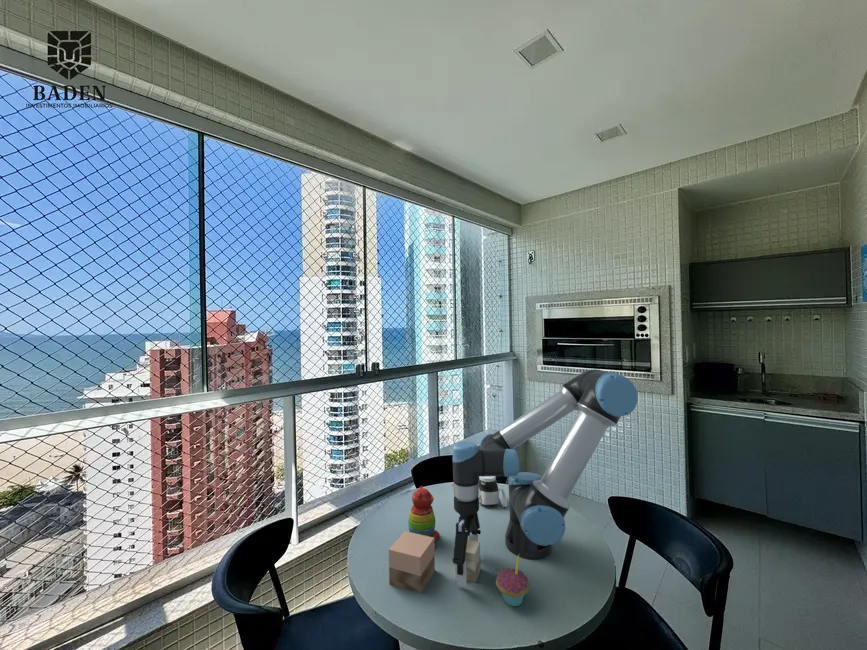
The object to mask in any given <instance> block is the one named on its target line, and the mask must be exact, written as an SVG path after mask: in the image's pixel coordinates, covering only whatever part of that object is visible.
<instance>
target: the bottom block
mask: <svg viewBox="0 0 867 650" xmlns="http://www.w3.org/2000/svg"><path fill="white" fill-rule="evenodd" d="M435 555H436V554H435ZM435 555H434V556H433V558H432V560H431V561H430V563H429V564H428V566H427V567H426V569H425V570H424V572H423V573H422V575H421V576H418V575H415V574H411V573H408V572H404V571H400V570H397V569H393V568H389V567H388V579H389V584H388V585H389V586H393V587H397V588H401V589H404V590H408V591H410V592H414V593H418V594H422V593H423V592H424V589H425V588H426V587H427V584H428V583H429V581H430V580H431V578H432V577H433V575H434V573H435V571H436V563H435V562H436V557H435Z"/></svg>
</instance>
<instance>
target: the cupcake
mask: <svg viewBox="0 0 867 650" xmlns="http://www.w3.org/2000/svg"><path fill="white" fill-rule="evenodd" d="M515 562H516V564H515V567H510V568H509V567H508V568H503V569H502V570H499V572H498V574H497V575H496V579H495V586H496V587H497V589H498V590H499V591H500V593H501V595H502V596H503V600H504V603H506V604H507V605H508V606H511V607H518V606H520V605H522V603H523V599H524V597H525V595H526V594H528V592H529V589H530V588H529V587H530V583H529V579H528V576H527V575H526V574H525V573H524V572H522V571H521V570H519V565H520V556H519V554H518V555H516V561H515Z"/></svg>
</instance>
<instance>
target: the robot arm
mask: <svg viewBox="0 0 867 650" xmlns="http://www.w3.org/2000/svg"><path fill="white" fill-rule="evenodd" d="M638 395H639V394H638V391H637V388H636V386H635V384H634V383H633V382H632V381H631V380H630V379H629V378H628V377H626V376H624V375H621V374H619V373H617V372H613V371H611V372H610V371H606V370H602V369H590V370H586V371H583V372H582V373H579V374H577V376H574V377H573V378H571V379H570V380H569V381H567V382H566V383H564V384H563V385H561V386H560V388H559V391H558V392H555V393H554V394H553V395H551V396H549V397H548V398H547V399H546V400H544V401H542V402H540V403H539V404H538V405H536V406H534V407H533V408H532V409H530V410H528V411H527V412H526V413H525V412H524V414H522V415H521V416H519V417H517V418H516V419H515V420H512V421H511V422H509V424H507V425H505V426H503V427H502V428H501V429H500V430H497V431H496V432H494V433H487V434H485V435H484V436H482V438H481V439H480V442H479V447H478V445H477V444H476V443H475V442H472V441H458V442H456V443H455V444H454V445H453V446H452V447H453V448H452V474H453V475H452V477H453V478H452V479H453V482H452V484H451V486H452V487H453V509H454V511H455V512H456V513H457V514H458V515H459V516H458V522H456V523H455V539H454V549H453V557H452V563H453V564H454V565H455V564H456V571H455V578H456V585H458V586H462V587H467V585H468V584H467V583H468V582H467V581H468V580H467V576H466V561H465V555H466V548H467V540H472V541H477V542H479V535H481V534H482V531H481V529H480V528H481V526H480V520H479V516H478V515H479V513H478V512H479V510H480V503H479V497H478V496H479V483H478V480H479V476H482V477H484V476H496V477H504V478H505V477H508V482H507V485H508V498H509V500H508V502H509V503H508V504H509V521H508V524H507V526H506V531H505V534H504V535H505V536H504V539H505V540H504V543H505V546H506V547H507V548H506V549H508V550H509V552H511V553H512V554H513V555H516V556H518V554H519V557H521V558H524V559H531V560H537V559H538V560H539V559H543V558H546V557H547V556H549V555H550V554H552V551H553V545H555V544H557V543H558V542H559V541H561V539H562V538H563V537H564V535H565V532H566V522H565V516H566V514H567V513H568V511H569V509H570V503H569V497H570V494H571V493H572V491H573V489H574V488H575V486H576V484H577V483H578V481H579V479H580V477H581V476H582V474H583V472H584V470H585V468H586V467H587V464H588V463H589V461H590V459H591V457H592V456H593V454H594V452H595V450H596V449H597V446H599V444H600V442H601V440H602V439H603V436H604V435H605V434H606V431H607V429H608V428H610V427H614V426H617V424H618V423H619V421H620V419H621V417H624V416H628V415H629V414H631V413H633V412H634V411H635V409H636V407H637V405H638V401H639V400H638V399H639V396H638ZM574 411H577V412H578V413H577V415H576V416H575V418H574V420H573V422H572V424H571V426H570V427H569V429H568V430H567V432H566V434H565V436H564V438H563V439H562V441H561V443H560V445H559V446H558V448H557V450H556V452H555V454H554V455H553V457H552V459H551V460H550V462H549V464H548V466H547V468H546V469H545V472H544V473H543V475H540V474H538V473H535V472H530V471H529V472H528V471H527V472H526V471H525V472H524V471H522V472H521V471H520V459H519V455H518V452H517V450H516V448H517V447H519V446H521V445H522V444H524V443H526V442H527V441H529V440H531V439H532V438H533V437H535V436H537V435H538V434H539V433H541V432H542V431H544V430H546V429H547V428H549V427H551V426H552V425H553V424H555V423H556V422H558V421H559V420H561V419H563V418H565V417H566V416H567V415H569V414H570V413H573V412H574ZM479 448H480V449H479Z"/></svg>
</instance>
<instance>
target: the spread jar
mask: <svg viewBox="0 0 867 650" xmlns="http://www.w3.org/2000/svg"><path fill="white" fill-rule="evenodd" d="M496 479H497V476H484V477H482V476H479V477H478V483H479V496H478V497H479V505H480V506H482V507H484V508H495V507H496V506H497V505H498V504H499V502H500V504H501V506H502V507H503V508H506V507H508V500H507V496H506V493H505V491H504V489H503V488H499V485H498V482H497V480H496Z"/></svg>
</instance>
